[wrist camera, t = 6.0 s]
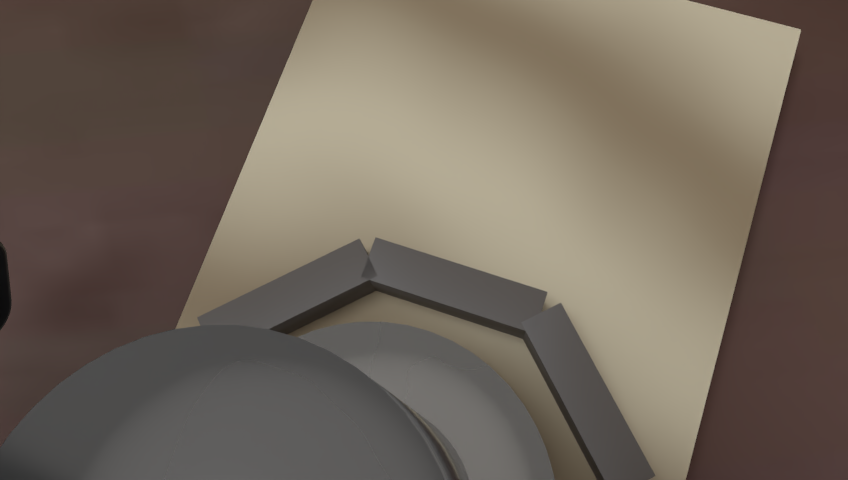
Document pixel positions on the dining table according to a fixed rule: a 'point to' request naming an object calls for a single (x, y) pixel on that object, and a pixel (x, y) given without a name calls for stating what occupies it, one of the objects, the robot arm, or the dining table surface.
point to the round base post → (280, 411)
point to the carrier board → (517, 201)
